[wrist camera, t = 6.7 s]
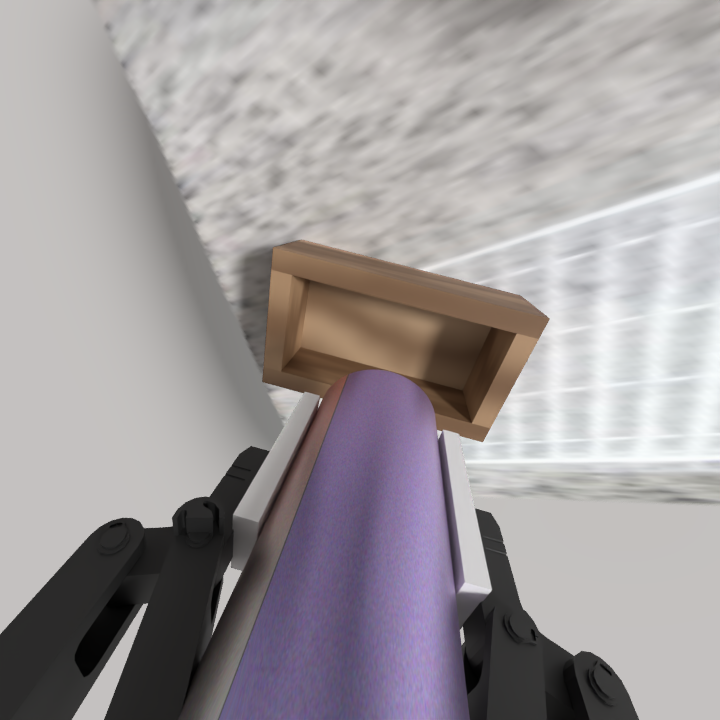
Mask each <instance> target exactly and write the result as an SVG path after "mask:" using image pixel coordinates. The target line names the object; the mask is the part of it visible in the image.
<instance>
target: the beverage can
mask: <svg viewBox="0 0 720 720" xmlns="http://www.w3.org/2000/svg"><path fill="white" fill-rule="evenodd" d="M178 720H470V717H469V708H468V699H467V691H466V682H465V673H464V664H463V655H462V647H461V638H460V629H459V620H458V612H457V603H456V594H455V585H454V577H453V568H452V559H451V550H450V542H449V533H448V524H447V515H446V506H445V498H444V489H443V480H442V471H441V463H440V454H439V445H438V436H437V428H436V419H435V412H434V409H433V406H432V404H431V402H430V400H429V398H428V397H427V395H426V394H425V393H424V391H423V390H422V389H421V388H420V387H419V386H417V385H416V384H415V383H414V382H412V381H411V380H409V379H407V378H405V377H403V376H401V375H399V374H396V373H393V372H390V371H385V370H362V371H357V372H354V373H351V374H348V375H346V376H344V377H342V378H340V379H339V380H337V381H336V382H335V383H334V384H333V385H332V386H331V387H330V388H329V389H328V391H327V392H326V394H325V395H324V398H323V400H322V402H321V404H320V406H319V408H318V410H317V412H316V415H315V417H314V419H313V421H312V423H311V425H310V427H309V430H308V432H307V434H306V436H305V438H304V440H303V442H302V445H301V447H300V449H299V451H298V453H297V455H296V457H295V460H294V462H293V464H292V466H291V468H290V470H289V472H288V475H287V477H286V479H285V481H284V483H283V485H282V487H281V490H280V492H279V494H278V496H277V498H276V500H275V502H274V505H273V507H272V509H271V511H270V513H269V515H268V517H267V520H266V522H265V524H264V526H263V528H262V530H261V532H260V535H259V537H258V539H257V541H256V543H255V545H254V547H253V549H252V552H251V554H250V556H249V558H248V560H247V562H246V564H245V567H244V569H243V571H242V573H241V575H240V577H239V580H238V582H237V584H236V586H235V588H234V590H233V592H232V594H231V597H230V599H229V601H228V603H227V605H226V607H225V610H224V612H223V614H222V616H221V618H220V620H219V622H218V624H217V627H216V629H215V631H214V633H213V635H212V637H211V639H210V642H209V644H208V646H207V648H206V650H205V652H204V654H203V657H202V659H201V661H200V663H199V665H198V667H197V669H196V672H195V674H194V676H193V679H192V681H191V684H190V687H189V690H188V693H187V696H186V699H185V702H184V705H183V708H182V712H181V714H180V716H179V719H178Z"/></svg>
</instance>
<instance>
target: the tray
mask: <svg viewBox="0 0 720 720" xmlns="http://www.w3.org/2000/svg"><path fill="white" fill-rule="evenodd" d="M548 321H549V318H548V317H547V316H546V315H544V314H543V313H542V312H541V311H539V310H538V309H537V308H536V307H534V306H533V305H532V304H531V303H529V302H528V301H527V300H526V299H524V298H523V297H522V296H520V295H516V294H512V293H508V292H504V291H501V290H497V289H493V288H489V287H485V286H481V285H477V284H473V283H469V282H465V281H461V280H457V279H454V278H450V277H446V276H442V275H438V274H434V273H430V272H426V271H422V270H418V269H414V268H410V267H407V266H403V265H399V264H395V263H391V262H387V261H383V260H379V259H375V258H371V257H367V256H363V255H360V254H356V253H352V252H348V251H344V250H340V249H336V248H332V247H328V246H324V245H320V244H316V243H313V242H309V241H305V240H298V241H295V242H291V243H288V244H284V245H281V246H277V247H273V254H272V267H271V279H270V292H269V305H268V317H267V330H266V342H265V355H264V368H263V380H262V382H265V383H268V384H272V385H276V386H279V387H283V388H287V389H290V390H294V391H298V392H301V393H304V392H308V393H312V394H315V395H319V396H320V398H324V395H325V394H326V392H327V391H328V389H329V388H330V387H331V386H332V385H333V384H334V383H335V382H336V381H337V380H339V379H340V378H342V377H344V376H346V375H348V374H351V373H354V372H357V371H362V370H385V371H390V372H393V373H396V374H399V375H401V376H403V377H405V378H407V379H409V380H411V381H412V382H414V383H415V384H416V385H417V386H419V387H420V388H421V389H422V390H423V391H424V393H425V394H426V395H427V397H428V398H429V400H430V402H431V404H432V406H433V409H434V412H435V419H436V428H437V430H440V431H443V430H447V431H451V432H454V433H458V434H459V436H462V437H466V438H469V439H473V440H477V441H480V442H483V441H484V439H485V437H486V435H487V433H488V432H489V430H490V428H491V426H492V424H493V422H494V420H495V419H496V417H497V415H498V413H499V411H500V409H501V408H502V406H503V404H504V402H505V400H506V398H507V397H508V395H509V393H510V391H511V389H512V387H513V385H514V384H515V382H516V380H517V378H518V376H519V374H520V373H521V371H522V369H523V367H524V365H525V363H526V362H527V360H528V358H529V356H530V354H531V352H532V350H533V349H534V347H535V345H536V343H537V341H538V339H539V338H540V336H541V334H542V332H543V330H544V328H545V327H546V325H547V323H548Z"/></svg>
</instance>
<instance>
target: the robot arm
mask: <svg viewBox="0 0 720 720" xmlns="http://www.w3.org/2000/svg"><path fill="white" fill-rule="evenodd" d="M319 399H320V396H319V395H315V394H312V393H308V392H304V394H303V395H302V397H301V399H300V401H299V402H298V404H297V406H296V407H295V409H294V411H293V413H292V414H291V416H290V418H289V419H288V421H287V423H286V425H285V426H284V428H283V430H282V431H281V433H280V435H279V437H278V439H277V440H276V442H275V444H274V445H273V447H272V449H271V450H270V451H267V450H263V449H260V448H256V447H252V446H251V447H249V448H248V449H246V450H245V451H243V452H242V453H240V454H239V456H238V457H237V459H236V460H235V461H234V463H233V464H232V466H231V467H230V468H229V470H228V471H227V473H226V475H225V476H224V477H223V478H222V480H221V482H220V483H219V484H218V486H217V487H216V489H215V490H214V491H213V493H212V494H211V496H210V497H199V498H195V499H192V500H190V501H188V502H186V503H185V504H183V505H182V506H181V507H180V508H178V510H177V511H176V513H175V514H174V516H173V517H172V520H173V526H172V527H163V528H143V526H142V524H141V523H140V522H139V521H137V520H135V519H133V518H120V519H117V520H113V521H110V522H108V523H106V524H104V525H103V526H101V527H99V528H98V529H97V530H96V531H94V533H92V534H91V535H90V536H89V537H88V538H87V539H86V540H85V541H84V543H83V544H82V545H81V546H80V547H79V548H78V549H77V550H76V551H75V553H74V554H73V555H72V556H71V557H70V558H69V559H68V560H67V561H66V563H65V564H64V565H63V566H62V567H61V568H60V569H59V570H58V571H57V572H56V573H55V575H54V576H53V577H52V578H51V579H50V580H49V581H48V582H47V584H46V585H45V586H44V587H43V588H42V589H41V590H40V591H39V592H38V593H37V594H36V596H35V597H34V598H33V599H32V600H31V601H30V602H29V603H28V604H27V605H26V607H25V608H24V609H23V610H22V611H21V612H20V613H19V614H18V615H17V617H16V618H15V619H14V620H13V621H12V622H11V623H10V624H9V625H8V626H7V628H6V629H5V630H4V631H3V632H2V633H1V634H0V720H72V718H73V716H74V715H75V713H76V712H77V710H78V708H79V707H80V705H81V704H82V702H83V700H84V698H85V697H86V695H87V694H88V692H89V691H90V689H91V687H92V686H93V684H94V682H95V681H96V679H97V678H98V676H99V674H100V673H101V671H102V670H103V668H104V666H105V664H106V663H107V661H108V660H109V658H110V657H111V655H112V653H113V652H114V650H115V649H116V647H117V645H118V644H119V642H120V640H121V639H122V637H123V636H124V634H125V632H126V631H127V629H128V628H129V626H130V624H131V622H132V621H133V619H134V618H135V616H136V614H137V613H138V611H139V610H140V608H141V606H142V605H143V604H146V603H148V606H147V608H146V611H145V614H144V616H143V619H142V622H141V624H140V627H139V630H138V632H137V635H136V638H135V640H134V643H133V645H132V648H131V650H130V653H129V656H128V658H127V661H126V664H125V666H124V669H123V672H122V674H121V677H120V679H119V682H118V685H117V687H116V690H115V693H114V696H113V698H112V701H111V703H110V706H109V708H108V711H107V714H106V716H105V719H104V720H178V719H179V716H180V714H181V712H182V708H183V705H184V702H185V699H186V696H187V693H188V690H189V687H190V684H191V681H192V679H193V676H194V674H195V672H196V669H197V667H198V665H199V663H200V661H201V659H202V657H203V654H204V652H205V650H206V648H207V646H208V644H209V642H210V639H211V636H212V632H213V627H214V622H215V618H216V613H217V608H218V604H219V599H220V594H221V589H222V585H223V575H224V573H225V571H226V569H227V567H228V565H229V563H230V561H231V568H234V569H238V570H241V571H243V569H244V567H245V564H246V562H247V560H248V558H249V556H250V554H251V552H252V549H253V547H254V545H255V543H256V541H257V539H258V537H259V535H260V532H261V530H262V528H263V526H264V524H265V522H266V520H267V517H268V515H269V513H270V511H271V509H272V507H273V505H274V502H275V500H276V498H277V496H278V494H279V492H280V490H281V487H282V485H283V483H284V481H285V479H286V477H287V475H288V472H289V470H290V468H291V466H292V464H293V462H294V460H295V457H296V455H297V453H298V451H299V449H300V447H301V445H302V442H303V440H304V438H305V436H306V434H307V432H308V430H309V427H310V425H311V423H312V421H313V419H314V417H315V415H316V412H317V410H318V404H319ZM438 445H439V454H440V463H441V471H442V480H443V489H444V498H445V506H446V515H447V524H448V533H449V542H450V550H451V559H452V568H453V577H454V585H455V594H456V603H457V612H458V620H459V629H461V628H462V627H463V630H464V638H465V642H464V643H463V645H462V646H461V647H462V655H463V664H464V673H465V682H466V691H467V699H468V708H469V717H470V720H639V719H638V716H637V714H636V711H635V709H634V707H633V704H632V702H631V699H630V697H629V694H628V692H627V690H626V689H625V687H624V685H623V683H622V681H621V680H620V678H619V677H618V676H617V674H615V672H614V671H613V669H612V668H611V667H610V666H609V665H608V664H607V663H606V662H604V661H603V660H602V659H601V658H600V657H598V656H596V655H594V654H593V653H591V652H584V651H581V652H580V653H578V654H577V655H575V656H573V655H572V654H570V653H569V652H567V651H566V650H564V649H563V648H561V647H560V646H558V645H557V644H555V643H554V642H552V641H551V640H549V639H547V638H546V637H545V636H544V635H542V634H541V633H540V632H539V631H538V629H537V627H536V625H535V623H534V621H533V620H532V618H531V617H530V616H529V615H528V614H527V612H526V611H525V610H523V608H522V606H521V603H520V600H519V596H518V593H517V589H516V585H515V582H514V578H513V574H512V571H511V567H510V564H509V560H508V557H507V556H506V549H505V546H504V544H503V538H502V535H501V531H500V528H499V526H498V524H497V523H496V521H495V519H494V518H493V516H492V514H491V513H489V512H485V511H482V510H479V509H475V507H474V502H473V497H472V493H471V488H470V483H469V478H468V474H467V469H466V464H465V460H464V455H463V450H462V445H461V441H460V436H459V434H458V433H454V432H451V431H447V430H443V431H442V433H441V435H440V438H439V440H438Z"/></svg>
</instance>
